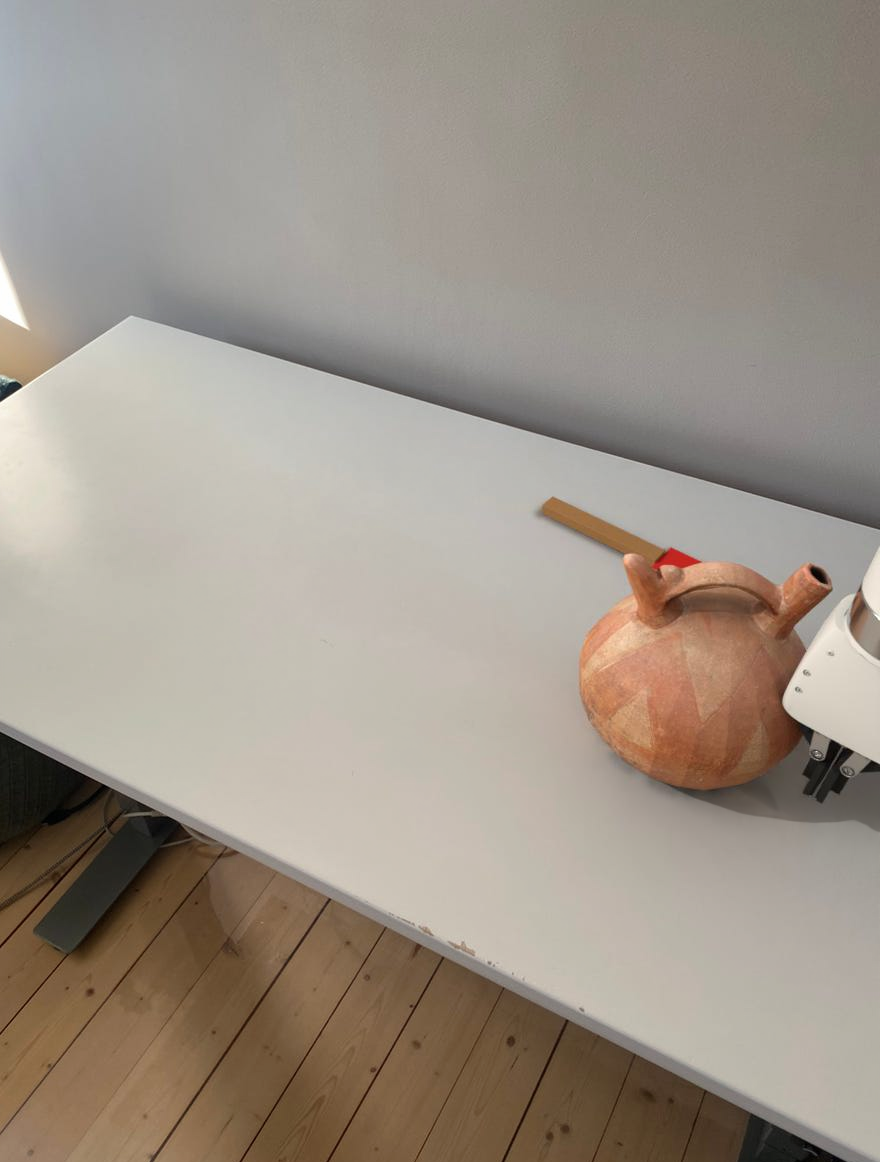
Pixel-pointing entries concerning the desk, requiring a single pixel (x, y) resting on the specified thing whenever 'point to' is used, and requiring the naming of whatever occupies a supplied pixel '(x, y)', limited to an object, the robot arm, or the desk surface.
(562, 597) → the desk surface
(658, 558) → the spatula
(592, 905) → the desk surface
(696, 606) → the jug
